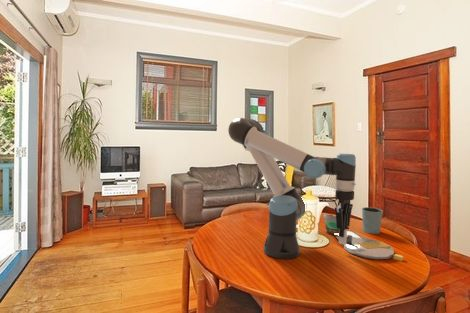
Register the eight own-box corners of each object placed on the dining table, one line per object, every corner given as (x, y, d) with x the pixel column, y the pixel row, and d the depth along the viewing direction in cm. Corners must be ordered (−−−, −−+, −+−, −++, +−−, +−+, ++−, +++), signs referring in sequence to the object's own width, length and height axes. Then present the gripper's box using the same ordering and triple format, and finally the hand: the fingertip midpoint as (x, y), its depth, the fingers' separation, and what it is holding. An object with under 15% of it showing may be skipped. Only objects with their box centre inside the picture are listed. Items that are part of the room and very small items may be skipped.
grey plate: (336, 249, 127) (336, 237, 127) (354, 238, 142) (354, 227, 141) (384, 263, 113) (385, 250, 113) (399, 250, 128) (400, 238, 127)
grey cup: (377, 229, 160) (378, 207, 159) (384, 235, 150) (386, 212, 149) (358, 228, 161) (359, 206, 160) (364, 233, 151) (365, 211, 150)
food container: (321, 234, 148) (322, 215, 147) (322, 231, 154) (323, 212, 153) (347, 238, 143) (348, 218, 143) (347, 234, 149) (348, 215, 148)
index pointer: (393, 258, 119) (393, 255, 119) (394, 257, 121) (395, 253, 121) (401, 260, 117) (401, 257, 117) (402, 259, 119) (403, 256, 119)
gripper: (347, 192, 116) (344, 250, 118) (359, 189, 125) (357, 242, 127) (329, 190, 121) (327, 245, 123) (342, 187, 131) (340, 238, 132)
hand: (342, 243), depth 125 cm, fingers closed
